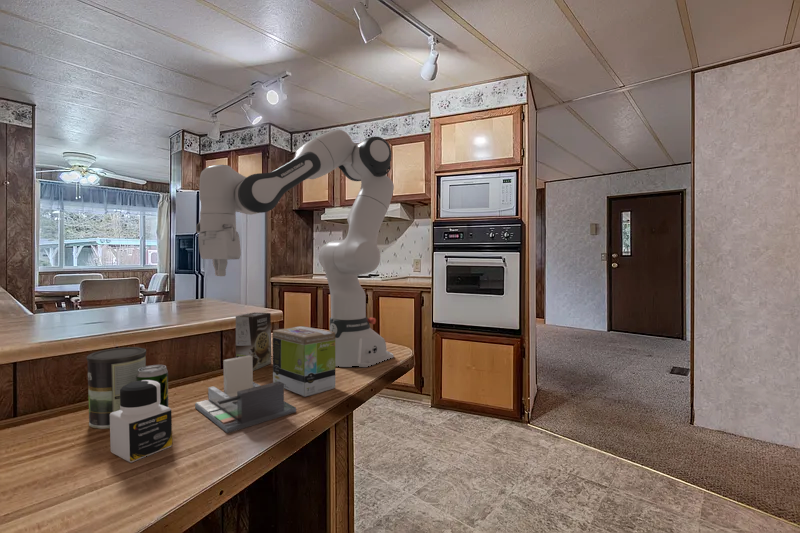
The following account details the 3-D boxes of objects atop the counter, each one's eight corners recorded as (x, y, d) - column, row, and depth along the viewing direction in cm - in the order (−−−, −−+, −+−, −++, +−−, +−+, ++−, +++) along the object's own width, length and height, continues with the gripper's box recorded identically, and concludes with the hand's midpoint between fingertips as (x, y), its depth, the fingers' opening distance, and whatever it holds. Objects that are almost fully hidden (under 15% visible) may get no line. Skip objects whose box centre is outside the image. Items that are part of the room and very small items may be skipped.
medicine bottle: (130, 463, 68) (128, 392, 68) (109, 452, 72) (108, 385, 72) (173, 446, 75) (171, 381, 74) (152, 437, 78) (150, 374, 78)
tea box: (337, 388, 106) (336, 331, 106) (304, 398, 99) (303, 337, 98) (303, 376, 117) (303, 324, 116) (271, 384, 109) (270, 329, 109)
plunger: (250, 396, 97) (249, 355, 96) (268, 406, 90) (267, 362, 90) (204, 407, 89) (203, 363, 89) (220, 420, 83) (219, 372, 83)
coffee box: (253, 371, 121) (252, 316, 120) (235, 369, 123) (234, 315, 123) (272, 363, 130) (271, 312, 129) (255, 361, 132) (254, 311, 131)
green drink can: (137, 435, 79) (136, 373, 78) (137, 425, 83) (135, 367, 83) (170, 429, 82) (168, 369, 81) (167, 419, 86) (166, 363, 86)
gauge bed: (258, 392, 103) (258, 364, 103) (296, 411, 90) (295, 380, 90) (195, 408, 93) (194, 377, 93) (227, 433, 80) (226, 397, 80)
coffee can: (81, 432, 80) (79, 361, 80) (96, 413, 90) (94, 349, 89) (143, 424, 84) (141, 355, 84) (151, 406, 94) (149, 345, 93)
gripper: (246, 223, 107) (247, 276, 107) (216, 227, 122) (218, 274, 122) (221, 222, 102) (223, 278, 103) (193, 226, 117) (195, 275, 118)
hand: (220, 276), depth 113 cm, fingers closed
